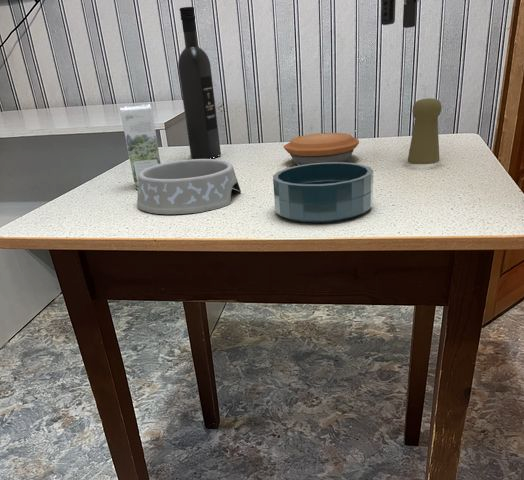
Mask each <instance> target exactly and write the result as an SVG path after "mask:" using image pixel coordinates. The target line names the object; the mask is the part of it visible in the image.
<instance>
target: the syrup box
mask: <svg viewBox="0 0 524 480" xmlns="http://www.w3.org/2000/svg"><path fill="white" fill-rule="evenodd" d="M152 109H153V108H152V106H151V104H150V103H142V104H135V105H134V104H133V105H125V106H120V107H119V113H120V118H121V123H122V128H123V133H124V138H125V143H126V148H127V153H128V158H129V165H130V168H131V173H132V179H133V183H134V188H136V189H137V188H138V175H139V173H140V172H141V171H143V170H144V169H146V168H149V167H152V166H155V165H159V164H162V162H161V157H160V150H159V145H158V139H157V133H156V126H155V121H154V115H153V110H152ZM136 189H135V190H136ZM137 190H138V189H137Z"/></svg>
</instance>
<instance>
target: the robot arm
mask: <svg viewBox="0 0 524 480" xmlns="http://www.w3.org/2000/svg"><path fill="white" fill-rule="evenodd" d="M419 2H420V0H403V3H404V4H403V17H402V26H403V28H404V29H410V28H414V27H416V25H417V10H418V3H419ZM396 3H397V2H396V0H381V12H380V13H381V17H380V23H381V25H382V26H389V25H390V26H391V25H394V24H395V22H396Z"/></svg>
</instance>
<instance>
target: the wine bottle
mask: <svg viewBox="0 0 524 480" xmlns="http://www.w3.org/2000/svg"><path fill="white" fill-rule="evenodd" d="M179 14H180V21H181V27H182V32H183V39H184V40H183V41H184V46H185V47H184V49H183V50H182V51H181V53H180V54H179V57H178V61H177V62H178V63H177V69H178V76H179V83H180V89H181V97H182V104H183V105H182V106H183V111H184V117H185V124H186V132H187V138H188V146H189V153H190V158H191V159H192V158H193V159H210V158H213V157H216V156H218V155H220V154H221V155H222V152H221V142H220V136H219V135H220V134H219V126H218V117H217V108H216V100H215V93H214V84H213V83H214V82H213V74H212V67H211V61H210V59H209V56H208V54H207V53H206V52H205V51H204V50H203V49H202V48H201V47H200V46H199V42H198V35H197V26H196V14H195V7H194V6H183V7H180V8H179ZM221 155H220V156H221ZM220 156H218V157H216V158H219V157H220ZM213 159H214V158H213Z"/></svg>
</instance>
